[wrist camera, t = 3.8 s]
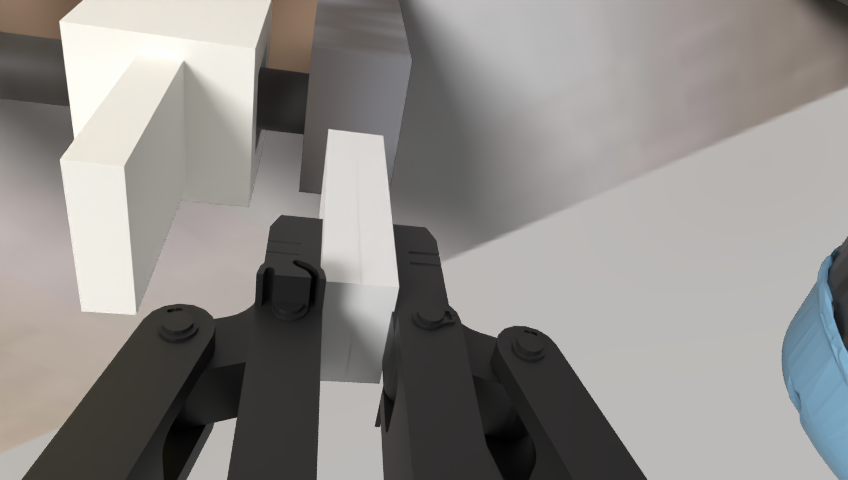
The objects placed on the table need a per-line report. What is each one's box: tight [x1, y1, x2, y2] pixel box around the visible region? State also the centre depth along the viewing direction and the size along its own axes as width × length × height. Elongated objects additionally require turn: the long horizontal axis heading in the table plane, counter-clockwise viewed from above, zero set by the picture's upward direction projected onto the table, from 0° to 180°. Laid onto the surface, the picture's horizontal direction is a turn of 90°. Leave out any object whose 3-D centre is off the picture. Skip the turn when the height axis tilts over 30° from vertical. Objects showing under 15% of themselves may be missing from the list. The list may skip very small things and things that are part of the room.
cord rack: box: [0, 0, 412, 194], centre depth 23 cm, size 24×9×14 cm, turn 80°
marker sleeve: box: [59, 0, 272, 315], centre depth 19 cm, size 5×5×11 cm
